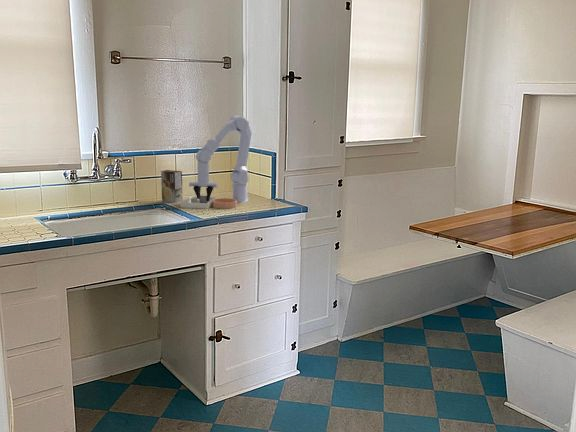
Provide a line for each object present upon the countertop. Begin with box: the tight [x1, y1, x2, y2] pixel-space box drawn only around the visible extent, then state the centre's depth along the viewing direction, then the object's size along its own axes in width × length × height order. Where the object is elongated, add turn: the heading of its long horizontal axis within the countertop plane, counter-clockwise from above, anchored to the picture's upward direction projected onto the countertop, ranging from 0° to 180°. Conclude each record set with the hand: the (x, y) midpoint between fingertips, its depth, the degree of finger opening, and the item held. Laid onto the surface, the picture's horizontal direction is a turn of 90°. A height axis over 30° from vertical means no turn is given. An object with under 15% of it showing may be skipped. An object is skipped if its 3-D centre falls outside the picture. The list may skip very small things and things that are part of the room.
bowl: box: [211, 197, 238, 210], centre depth 304 cm, size 12×12×4 cm
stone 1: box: [191, 198, 200, 203], centre depth 303 cm, size 4×4×4 cm
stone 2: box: [199, 194, 208, 203], centre depth 311 cm, size 4×4×4 cm
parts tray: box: [179, 195, 219, 210], centre depth 307 cm, size 18×14×3 cm
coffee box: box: [160, 169, 184, 203], centre depth 314 cm, size 9×6×16 cm
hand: (203, 201), depth 311 cm, fingers closed on stone 2, 4 cm apart
